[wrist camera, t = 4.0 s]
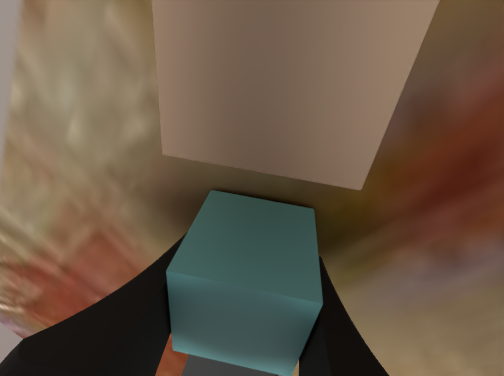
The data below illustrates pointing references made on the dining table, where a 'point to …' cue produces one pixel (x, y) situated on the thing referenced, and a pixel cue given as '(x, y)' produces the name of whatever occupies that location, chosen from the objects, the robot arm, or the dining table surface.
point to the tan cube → (284, 81)
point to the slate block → (217, 368)
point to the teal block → (246, 283)
